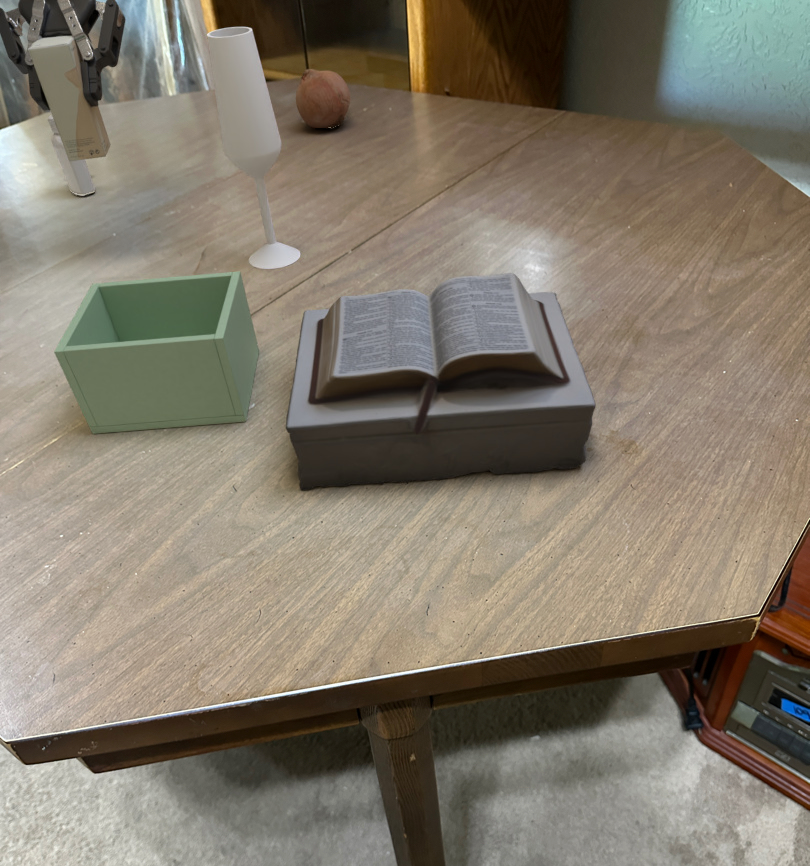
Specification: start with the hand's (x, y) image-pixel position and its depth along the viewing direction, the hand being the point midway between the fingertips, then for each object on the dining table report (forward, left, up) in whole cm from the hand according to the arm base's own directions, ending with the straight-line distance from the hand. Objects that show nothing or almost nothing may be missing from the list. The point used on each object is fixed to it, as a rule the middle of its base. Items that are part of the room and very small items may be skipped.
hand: (67, 103), depth 79 cm
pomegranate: (+24, +52, -19) cm, 60 cm away
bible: (+37, -36, -19) cm, 55 cm away
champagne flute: (+19, 0, -19) cm, 27 cm away
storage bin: (+12, -29, -19) cm, 37 cm away
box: (0, +2, -6) cm, 6 cm away
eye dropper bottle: (-14, +30, -19) cm, 38 cm away
